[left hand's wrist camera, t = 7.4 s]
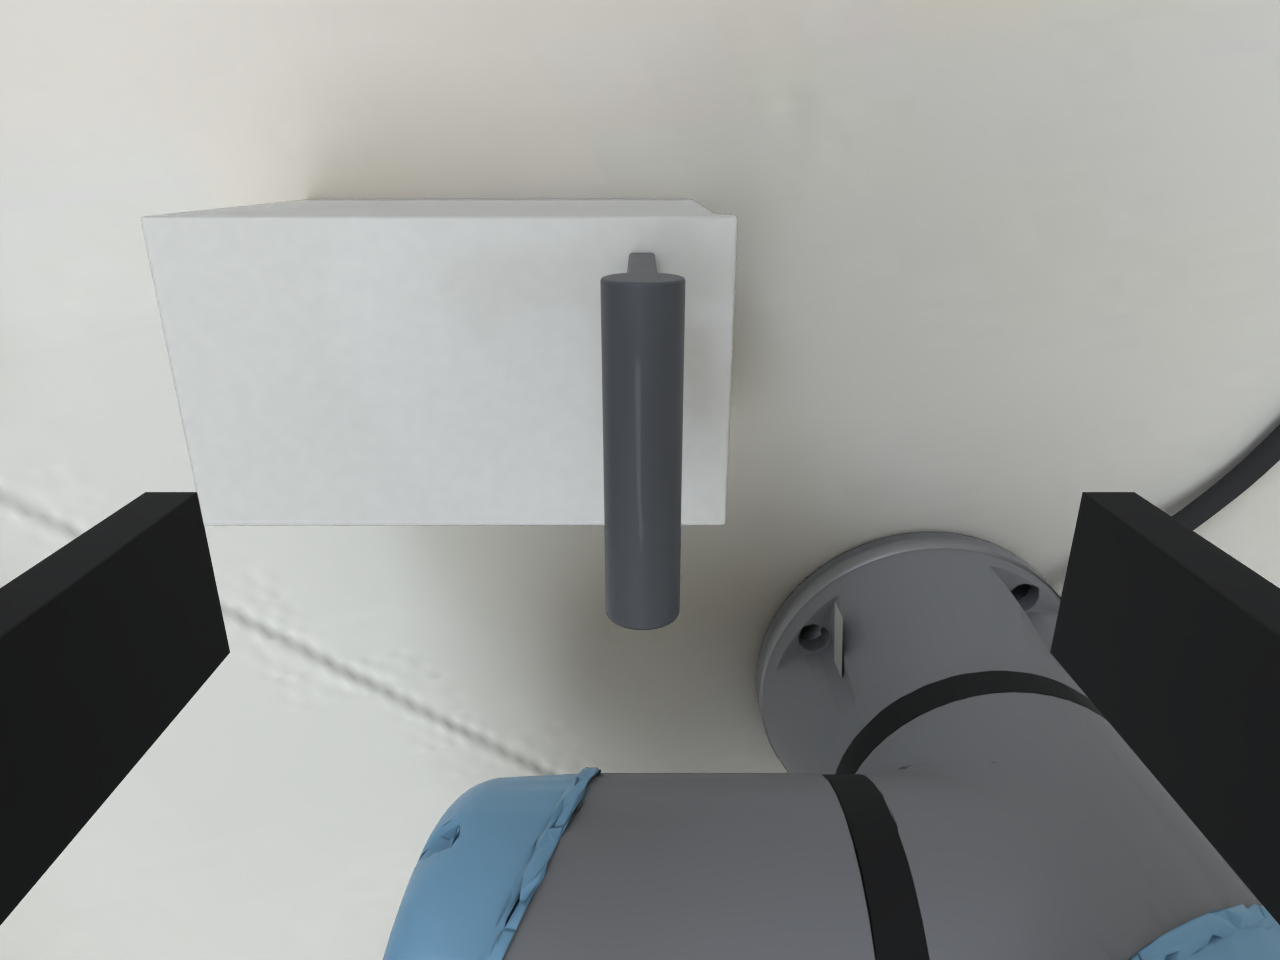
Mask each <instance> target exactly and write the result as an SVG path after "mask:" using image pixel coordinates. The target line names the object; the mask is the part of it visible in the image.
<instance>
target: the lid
mask: <svg viewBox="0 0 1280 960" xmlns="http://www.w3.org/2000/svg"><path fill="white" fill-rule="evenodd" d="M141 223H142V228H143V233H144V238H145V243H146V248H147V252H148V257H149V262H150V267H151V272H152V277H153V282H154V287H155V291H156V296H157V301H158V306H159V311H160V316H161V321H162V326H163V331H164V335H165V340H166V345H167V350H168V355H169V360H170V365H171V370H172V374H173V379H174V384H175V389H176V394H177V399H178V404H179V409H180V414H181V418H182V423H183V428H184V433H185V438H186V443H187V448H188V453H189V457H190V462H191V467H192V472H193V477H194V482H195V487H196V492H197V493H198V498H199V503H200V508H201V513H202V518H203V523H204V525H205V526H488V525H604V528H605V587H606V613H607V616H608V617H609V619H610V620H611V621H612V622H614V623H615V624H617V625H619V626H622V627H625V628H629V629H635V630H650V629H657V628H661V627H664V626H666V625H668V624H670V623H672V622H673V621H674V620H675V619H676V618H677V616H678V614H679V600H680V548H681V525H725V523H726V504H727V479H728V454H729V429H730V404H731V379H732V354H733V329H734V304H735V279H736V254H737V229H738V219H737V217H736V216H734V215H152V216H144V217H142V218H141Z"/></svg>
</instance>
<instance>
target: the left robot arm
mask: <svg viewBox="0 0 1280 960" xmlns="http://www.w3.org/2000/svg"><path fill="white" fill-rule="evenodd" d="M1279 460H1280V425H1279V426H1278V427H1277V428H1276V429H1275V430H1274V431H1273V432H1272V433H1271V434H1270V435H1269V436H1268V437H1267V438H1266V439H1265V440H1264V441H1263V442H1262V443H1261V444H1260V445H1259V446H1258V447H1257V448H1256V449H1255V450H1254V451H1252V452H1251V453H1250V454H1249V455H1248V456H1247V457H1246V458H1245V459H1244V460H1243V461H1242V462H1241V463H1239V464H1238V465H1237V466H1236V467H1235V468H1234V469H1233V470H1232V471H1230V472H1229V473H1228V474H1227V475H1226V476H1224V477H1223V478H1222V479H1221V480H1220V481H1218V482H1217V483H1216V484H1215V485H1213V486H1212V487H1211V488H1210V489H1208V490H1207V491H1206V492H1204V493H1203V494H1202V495H1201V496H1199V497H1198V498H1197V499H1195V500H1194V501H1193V502H1191V503H1190V504H1189V505H1187V506H1186V507H1185V508H1183V509H1182V510H1181V511H1179V512H1178V513H1176V514H1175V515H1174V516H1172V517H1171V516H1169V515H1168V514H1166V513H1165V512H1163V511H1162V510H1160V509H1159V508H1157V507H1156V506H1154V505H1153V504H1151V503H1150V502H1148V501H1147V500H1145V499H1144V498H1142V497H1141V496H1139V495H1138V494H1136V493H1135V492H1083V493H1082V498H1081V503H1080V508H1079V513H1078V518H1077V523H1076V528H1075V533H1074V537H1073V542H1072V547H1071V552H1070V557H1069V562H1068V567H1067V572H1066V577H1065V582H1064V586H1063V591H1062V596H1061V597H1060V596H1059V595H1058V594H1057V593H1056V592H1055V591H1054V590H1053V589H1052V587H1051V586H1050V585H1049V584H1048V583H1047V582H1046V581H1045V580H1044V579H1043V578H1042V577H1041V576H1040V575H1039V574H1038V573H1037V572H1036V571H1035V570H1034V569H1032V568H1031V567H1030V566H1029V565H1028V564H1027V563H1026V562H1024V561H1023V560H1021V559H1020V558H1019V557H1017V556H1016V555H1014V554H1012V553H1011V552H1009V551H1007V550H1005V549H1003V548H1001V547H999V546H997V545H994V544H992V543H990V542H987V541H984V540H981V539H978V538H974V537H970V536H965V535H960V534H953V533H944V532H919V533H908V534H901V535H895V536H890V537H886V538H882V539H878V540H875V541H872V542H869V543H866V544H863V545H861V546H858V547H856V548H854V549H851V550H849V551H847V552H845V553H843V554H841V555H840V556H838V557H836V558H834V559H832V560H831V561H829V562H828V563H826V564H825V565H823V566H822V567H820V568H819V569H818V570H816V571H815V572H814V573H813V574H811V575H810V576H809V577H807V578H806V579H805V580H804V581H803V582H802V583H801V584H800V585H799V586H798V587H797V588H796V589H795V590H794V591H793V592H792V594H791V595H790V596H789V597H788V598H787V599H786V601H785V602H784V603H783V605H782V606H781V608H780V609H779V610H778V612H777V614H776V615H775V617H774V619H773V620H772V622H771V624H770V626H769V628H768V631H767V633H766V635H765V637H764V641H763V644H762V647H761V650H760V655H759V659H758V666H757V693H758V700H759V705H760V709H761V714H762V718H763V723H764V726H765V730H766V734H767V736H768V739H769V741H770V744H771V746H772V748H773V750H774V752H775V754H776V755H777V757H778V759H779V760H780V761H781V763H782V765H783V766H784V767H785V769H786V770H787V772H788V773H601V770H599V769H598V768H588V767H586V768H585V769H583V770H582V771H581V772H580V773H579V774H563V775H545V776H526V777H507V778H497V779H492V780H489V781H486V782H483V783H481V784H478V785H476V786H475V787H473V788H471V789H469V790H468V791H467V792H465V793H464V794H462V795H461V796H460V797H459V798H458V799H457V800H456V801H455V802H454V803H453V804H452V805H451V806H450V807H449V809H448V810H447V811H446V812H445V814H444V815H443V816H442V818H441V819H440V821H439V822H438V824H437V825H436V827H435V828H434V830H433V832H432V833H431V835H430V837H429V839H428V841H427V843H426V845H425V847H424V849H423V851H422V853H421V855H420V858H419V860H418V863H417V865H416V867H415V869H414V871H413V873H412V876H411V878H410V881H409V883H408V886H407V889H406V891H405V894H404V897H403V899H402V902H401V905H400V907H399V910H398V913H397V916H396V919H395V922H394V925H393V928H392V931H391V934H390V938H389V941H388V944H387V948H386V951H385V954H384V958H383V960H1280V588H1278V587H1277V586H1275V585H1274V584H1272V583H1271V582H1269V581H1268V580H1266V579H1265V578H1263V577H1262V576H1260V575H1259V574H1257V573H1256V572H1254V571H1253V570H1251V569H1250V568H1248V567H1246V566H1245V565H1243V564H1242V563H1240V562H1239V561H1237V560H1236V559H1234V558H1233V557H1231V556H1230V555H1228V554H1227V553H1225V552H1224V551H1222V550H1221V549H1219V548H1218V547H1216V546H1215V545H1213V544H1212V543H1210V542H1209V541H1207V540H1206V539H1204V538H1203V537H1201V536H1200V535H1198V534H1197V533H1195V532H1194V531H1193V530H1194V529H1196V528H1197V527H1198V526H1200V525H1201V524H1202V523H1204V522H1205V521H1207V520H1208V519H1209V518H1211V517H1212V516H1213V515H1215V514H1216V513H1217V512H1218V511H1220V510H1221V509H1222V508H1224V507H1225V506H1226V505H1228V504H1229V503H1230V502H1231V501H1233V500H1234V499H1235V498H1237V497H1238V496H1239V495H1240V494H1241V493H1243V492H1244V491H1245V490H1246V489H1247V488H1249V487H1250V486H1251V485H1252V484H1253V483H1255V482H1256V481H1257V480H1258V479H1259V478H1260V477H1261V476H1263V475H1264V474H1265V473H1266V472H1267V471H1268V470H1269V469H1270V468H1271V467H1272V466H1274V465H1275V464H1276V463H1277V462H1278V461H1279ZM229 653H230V650H229V645H228V640H227V635H226V630H225V626H224V621H223V616H222V611H221V606H220V601H219V596H218V591H217V586H216V582H215V577H214V572H213V567H212V562H211V557H210V552H209V547H208V542H207V537H206V533H205V528H204V523H203V518H202V513H201V508H200V503H199V498H198V493H197V492H145V493H144V494H142V495H141V496H139V497H138V498H136V499H135V500H133V501H132V502H130V503H129V504H127V505H126V506H124V507H123V508H121V509H120V510H118V511H117V512H115V513H114V514H112V515H111V516H109V517H108V518H106V519H105V520H103V521H101V522H100V523H98V524H97V525H95V526H94V527H92V528H91V529H89V530H88V531H86V532H85V533H83V534H82V535H80V536H79V537H77V538H76V539H74V540H73V541H71V542H70V543H68V544H67V545H65V546H64V547H62V548H61V549H59V550H58V551H56V552H55V553H53V554H52V555H50V556H49V557H47V558H46V559H44V560H43V561H41V562H40V563H38V564H37V565H35V566H34V567H32V568H30V569H29V570H27V571H26V572H24V573H23V574H21V575H20V576H18V577H17V578H15V579H14V580H12V581H11V582H9V583H8V584H6V585H5V586H3V587H2V588H0V925H1V924H2V923H3V922H4V920H5V919H6V918H7V917H8V916H9V914H10V913H11V912H12V911H13V910H14V909H15V907H16V906H17V905H18V904H19V903H20V901H21V900H22V899H23V898H24V897H25V895H26V894H27V893H28V892H29V891H30V890H31V888H32V887H33V886H34V885H35V884H36V882H37V881H38V880H39V879H40V878H41V876H42V875H43V874H44V873H45V872H46V870H47V869H48V868H49V867H50V866H51V865H52V863H53V862H54V861H55V860H56V859H57V857H58V856H59V855H60V854H61V853H62V851H63V850H64V849H65V848H66V847H67V846H68V844H69V843H70V842H71V841H72V840H73V838H74V837H75V836H76V835H77V834H78V832H79V831H80V830H81V829H82V828H83V827H84V825H85V824H86V823H87V822H88V821H89V819H90V818H91V817H92V816H93V815H94V813H95V812H96V811H97V810H98V809H99V807H100V806H101V805H102V804H103V803H104V802H105V800H106V799H107V798H108V797H109V796H110V794H111V793H112V792H113V791H114V790H115V788H116V787H117V786H118V785H119V784H120V783H121V781H122V780H123V779H124V778H125V777H126V775H127V774H128V773H129V772H130V771H131V769H132V768H133V767H134V766H135V765H136V764H137V762H138V761H139V760H140V759H141V758H142V756H143V755H144V754H145V753H146V752H147V750H148V749H149V748H150V747H151V746H152V745H153V743H154V742H155V741H156V740H157V739H158V737H159V736H160V735H161V734H162V733H163V731H164V730H165V729H166V728H167V727H168V725H169V724H170V723H171V722H172V721H173V720H174V718H175V717H176V716H177V715H178V714H179V712H180V711H181V710H182V709H183V708H184V706H185V705H186V704H187V703H188V702H189V701H190V699H191V698H192V697H193V696H194V695H195V693H196V692H197V691H198V690H199V689H200V687H201V686H202V685H203V684H204V683H205V682H206V680H207V679H208V678H209V677H210V676H211V674H212V673H213V672H214V671H215V670H216V668H217V667H218V666H219V665H220V664H221V662H222V661H223V660H224V659H225V658H226V657H227V655H228V654H229Z"/></svg>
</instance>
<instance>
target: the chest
mask: <svg viewBox="0 0 1280 960" xmlns="http://www.w3.org/2000/svg"><path fill="white" fill-rule="evenodd" d="M164 215H715V214H714V213H712V212H711V211H709V210H708V209H706V208H705V207H703V206H701V205H700V204H698V203H697V202H695V201H694V200H692V199H306V200H297V201H287V202H278V203H268V204H258V205H249V206H239V207H229V208H220V209H210V210H201V211H191V212H181V213H172V214H164Z"/></svg>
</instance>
